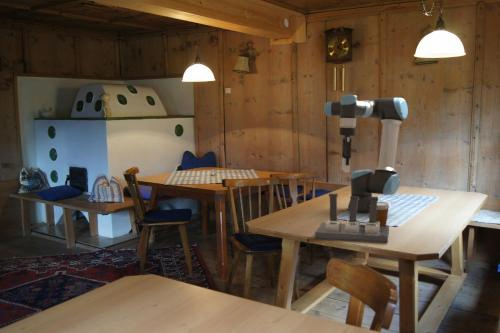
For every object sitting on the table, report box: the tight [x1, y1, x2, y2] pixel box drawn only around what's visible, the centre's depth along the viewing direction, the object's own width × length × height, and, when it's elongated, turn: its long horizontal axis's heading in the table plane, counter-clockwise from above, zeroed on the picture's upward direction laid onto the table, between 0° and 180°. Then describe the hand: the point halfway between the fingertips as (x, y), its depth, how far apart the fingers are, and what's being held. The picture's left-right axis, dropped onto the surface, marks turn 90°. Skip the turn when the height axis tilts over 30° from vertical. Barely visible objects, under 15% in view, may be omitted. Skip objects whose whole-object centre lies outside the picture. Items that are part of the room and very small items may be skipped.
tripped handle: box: [328, 192, 339, 221], centre depth 224 cm, size 2×4×13 cm, turn 72°
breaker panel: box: [314, 218, 390, 244], centre depth 223 cm, size 18×32×6 cm, turn 71°
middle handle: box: [348, 195, 359, 222], centre depth 225 cm, size 2×4×13 cm
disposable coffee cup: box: [376, 201, 390, 226], centre depth 235 cm, size 10×10×12 cm
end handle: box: [368, 196, 379, 223], centre depth 222 cm, size 2×4×13 cm
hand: (345, 171), depth 230 cm, fingers open, 13 cm apart
